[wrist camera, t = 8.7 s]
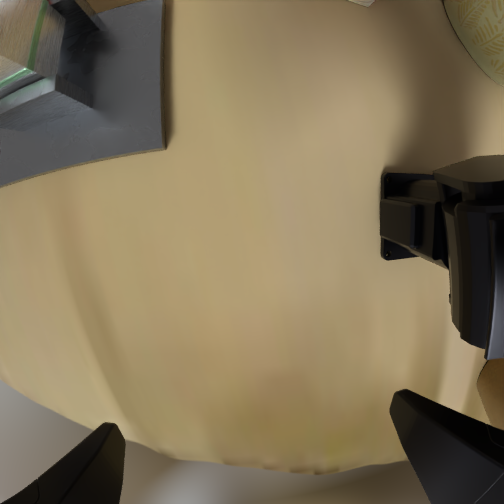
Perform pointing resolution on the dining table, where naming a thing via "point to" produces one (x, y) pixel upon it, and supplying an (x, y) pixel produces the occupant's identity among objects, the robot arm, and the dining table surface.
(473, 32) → the vase
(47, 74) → the column
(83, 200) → the dining table surface
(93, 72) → the grey stepped stand
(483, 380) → the plant pot
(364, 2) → the stack of blocks
